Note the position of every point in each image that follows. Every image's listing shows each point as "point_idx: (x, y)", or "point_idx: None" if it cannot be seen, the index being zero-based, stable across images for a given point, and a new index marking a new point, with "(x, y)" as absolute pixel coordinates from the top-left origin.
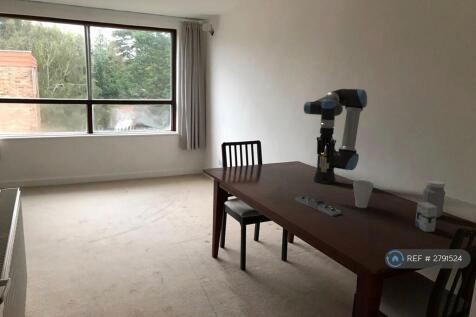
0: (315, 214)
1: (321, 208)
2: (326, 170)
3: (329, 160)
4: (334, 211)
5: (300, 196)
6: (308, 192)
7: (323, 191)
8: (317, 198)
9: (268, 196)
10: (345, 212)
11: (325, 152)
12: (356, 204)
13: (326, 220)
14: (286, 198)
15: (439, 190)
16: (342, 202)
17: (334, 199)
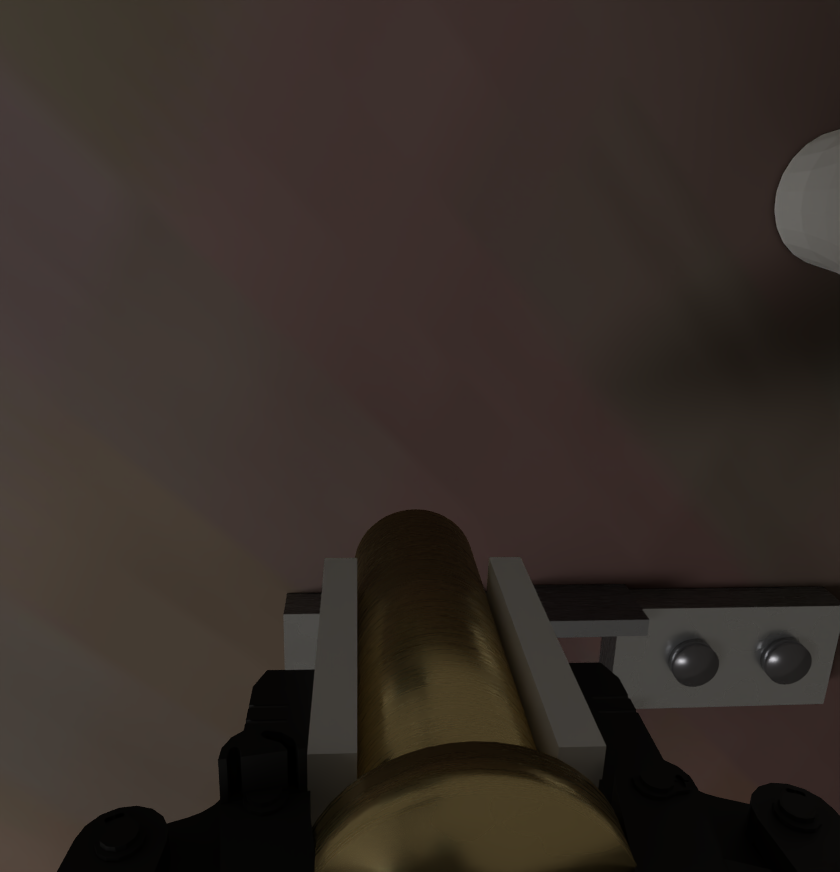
0: (688, 771)
1: (679, 701)
2: (471, 554)
3: (632, 728)
4: (823, 677)
5: (299, 662)
6: (96, 361)
7: (139, 122)
8: None
9: (56, 842)
10: (828, 513)
11: (369, 849)
12: (822, 267)
13: (828, 782)
14: (195, 731)
15: None
16: (620, 285)
17: (489, 281)
